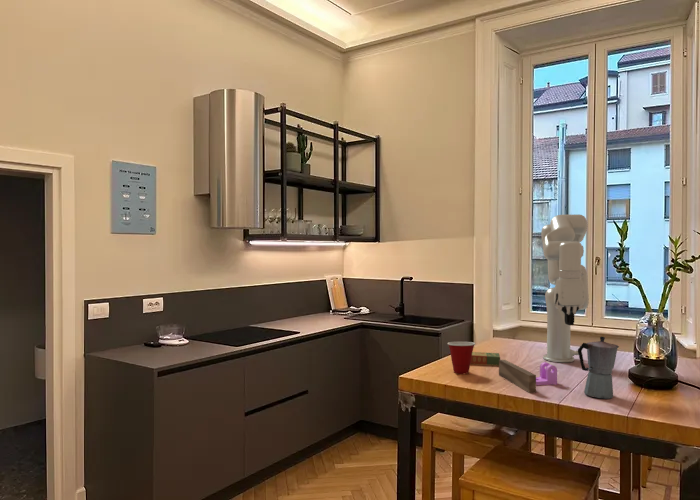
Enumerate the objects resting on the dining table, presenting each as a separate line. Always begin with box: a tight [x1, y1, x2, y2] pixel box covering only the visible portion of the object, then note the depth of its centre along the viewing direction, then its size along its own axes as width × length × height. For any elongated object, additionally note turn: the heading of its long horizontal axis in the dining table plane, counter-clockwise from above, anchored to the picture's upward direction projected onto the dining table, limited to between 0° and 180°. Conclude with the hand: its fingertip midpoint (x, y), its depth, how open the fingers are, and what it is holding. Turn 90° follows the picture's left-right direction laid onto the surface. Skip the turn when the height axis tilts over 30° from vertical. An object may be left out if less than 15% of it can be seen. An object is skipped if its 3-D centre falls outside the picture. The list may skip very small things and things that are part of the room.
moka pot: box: [577, 336, 620, 400], centre depth 181 cm, size 10×15×20 cm, turn 106°
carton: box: [470, 351, 501, 367], centre depth 230 cm, size 8×16×4 cm, turn 78°
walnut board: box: [498, 359, 537, 394], centre depth 196 cm, size 2×24×6 cm, turn 9°
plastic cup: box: [447, 341, 476, 375], centre depth 213 cm, size 11×11×12 cm
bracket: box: [536, 361, 558, 386], centre depth 197 cm, size 13×6×7 cm, turn 100°
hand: (569, 324), depth 200 cm, fingers closed
